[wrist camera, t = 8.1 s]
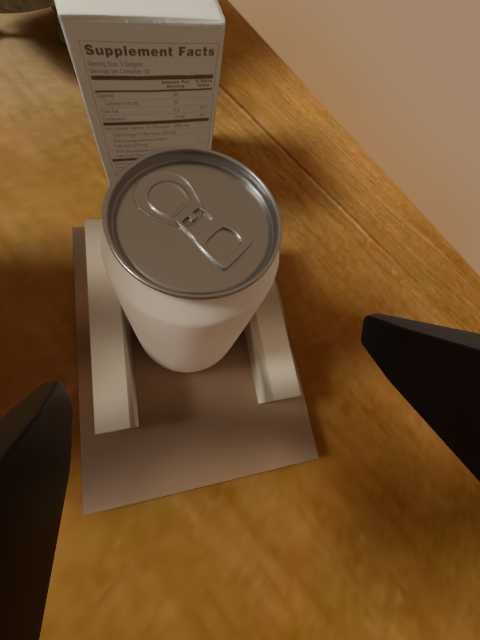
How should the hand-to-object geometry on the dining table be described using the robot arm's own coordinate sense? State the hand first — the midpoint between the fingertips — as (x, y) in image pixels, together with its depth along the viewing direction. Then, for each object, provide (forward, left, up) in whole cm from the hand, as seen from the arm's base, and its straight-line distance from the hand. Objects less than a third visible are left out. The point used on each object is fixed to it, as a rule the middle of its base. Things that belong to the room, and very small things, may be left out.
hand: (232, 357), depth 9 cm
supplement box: (+19, +1, -13) cm, 23 cm away
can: (+5, 0, -12) cm, 13 cm away
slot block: (+4, 0, -13) cm, 13 cm away
